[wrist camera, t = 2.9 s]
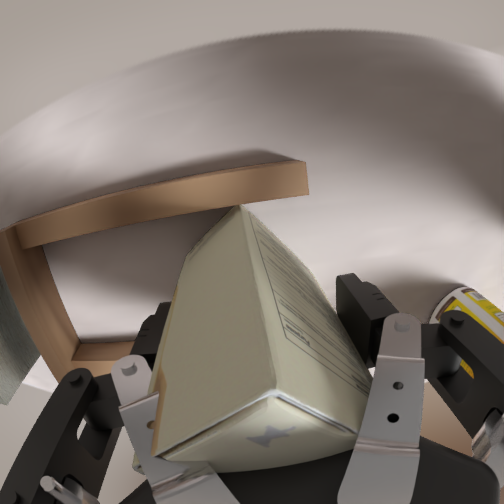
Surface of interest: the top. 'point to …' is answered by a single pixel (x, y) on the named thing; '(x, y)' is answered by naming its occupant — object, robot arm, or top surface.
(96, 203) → the rail
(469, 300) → the supplement bottle
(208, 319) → the skincare box
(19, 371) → the cabinet
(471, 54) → the top surface
